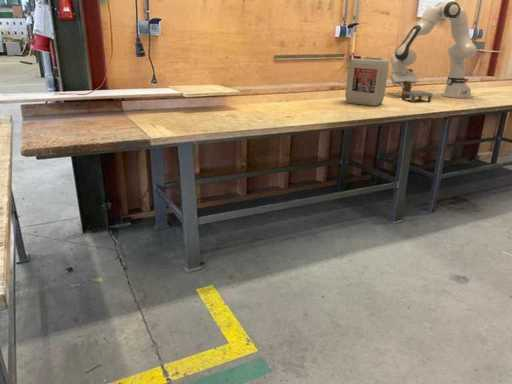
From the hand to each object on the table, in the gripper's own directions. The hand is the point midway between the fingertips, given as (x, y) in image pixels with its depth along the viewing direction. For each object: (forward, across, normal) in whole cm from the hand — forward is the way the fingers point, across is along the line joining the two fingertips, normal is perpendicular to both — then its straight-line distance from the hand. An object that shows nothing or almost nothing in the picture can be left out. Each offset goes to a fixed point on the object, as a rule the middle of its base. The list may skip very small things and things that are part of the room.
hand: (407, 88), depth 304 cm
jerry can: (+15, -44, -5) cm, 47 cm away
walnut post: (+5, 0, +6) cm, 7 cm away
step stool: (+14, 0, -3) cm, 14 cm away
